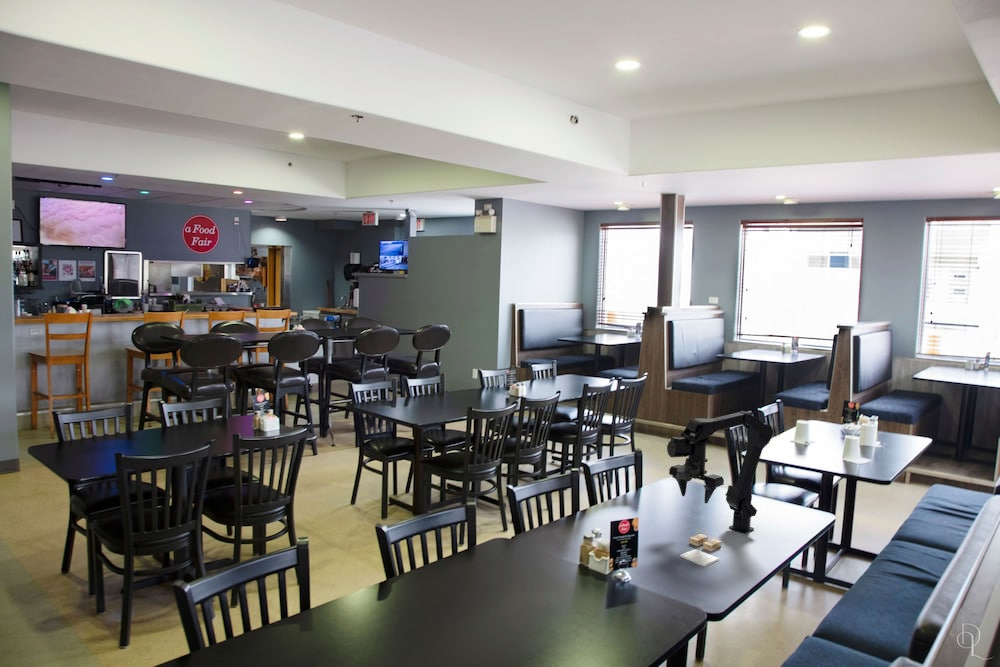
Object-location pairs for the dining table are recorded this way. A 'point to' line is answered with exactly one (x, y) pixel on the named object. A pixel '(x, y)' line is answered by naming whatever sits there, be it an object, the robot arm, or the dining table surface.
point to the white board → (699, 557)
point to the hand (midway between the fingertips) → (694, 499)
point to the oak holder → (705, 542)
